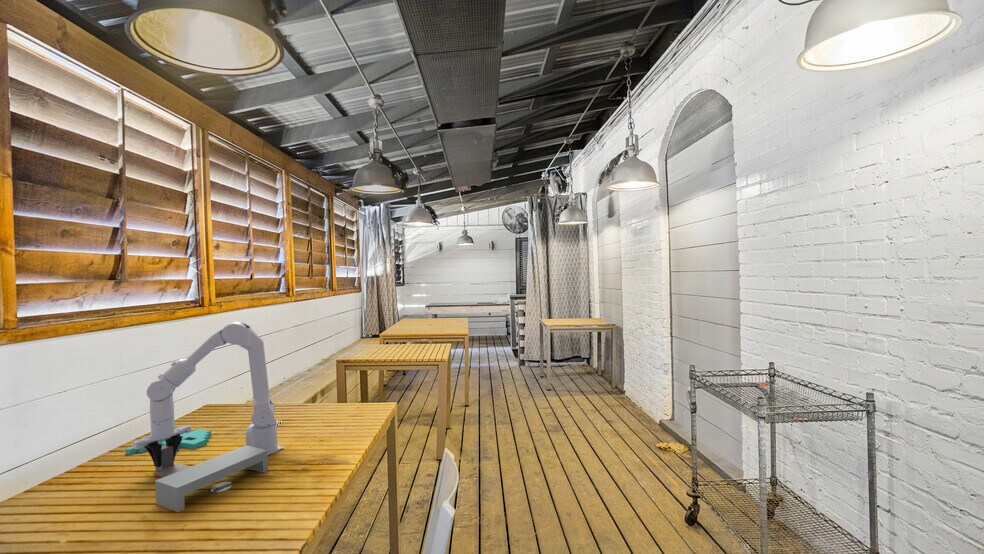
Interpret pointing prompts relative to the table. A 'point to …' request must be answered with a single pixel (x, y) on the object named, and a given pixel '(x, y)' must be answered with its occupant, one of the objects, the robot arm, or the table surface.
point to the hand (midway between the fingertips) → (164, 463)
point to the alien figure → (188, 441)
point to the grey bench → (207, 475)
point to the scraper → (168, 462)
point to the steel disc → (221, 487)
